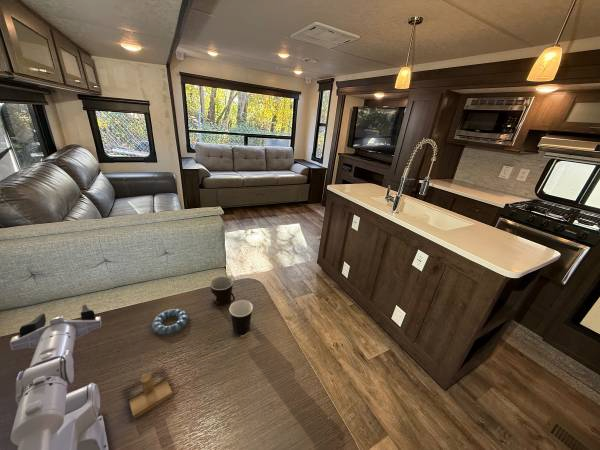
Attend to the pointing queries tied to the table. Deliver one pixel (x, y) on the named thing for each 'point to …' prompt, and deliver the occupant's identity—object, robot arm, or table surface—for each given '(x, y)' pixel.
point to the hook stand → (149, 395)
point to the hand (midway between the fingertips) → (64, 312)
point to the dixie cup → (241, 316)
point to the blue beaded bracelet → (173, 328)
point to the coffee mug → (222, 290)
